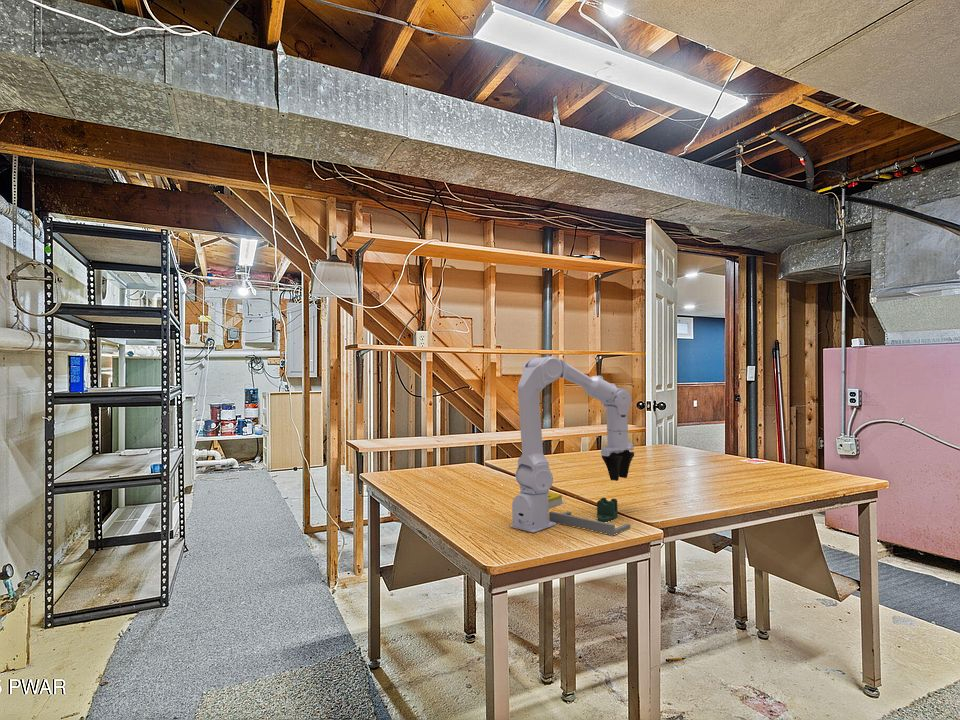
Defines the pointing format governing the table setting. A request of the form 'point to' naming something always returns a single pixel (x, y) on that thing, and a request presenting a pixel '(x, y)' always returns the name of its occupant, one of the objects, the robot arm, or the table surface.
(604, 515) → the mount
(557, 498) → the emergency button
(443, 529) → the table surface
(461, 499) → the table surface
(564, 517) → the u-shaped gray bracket
